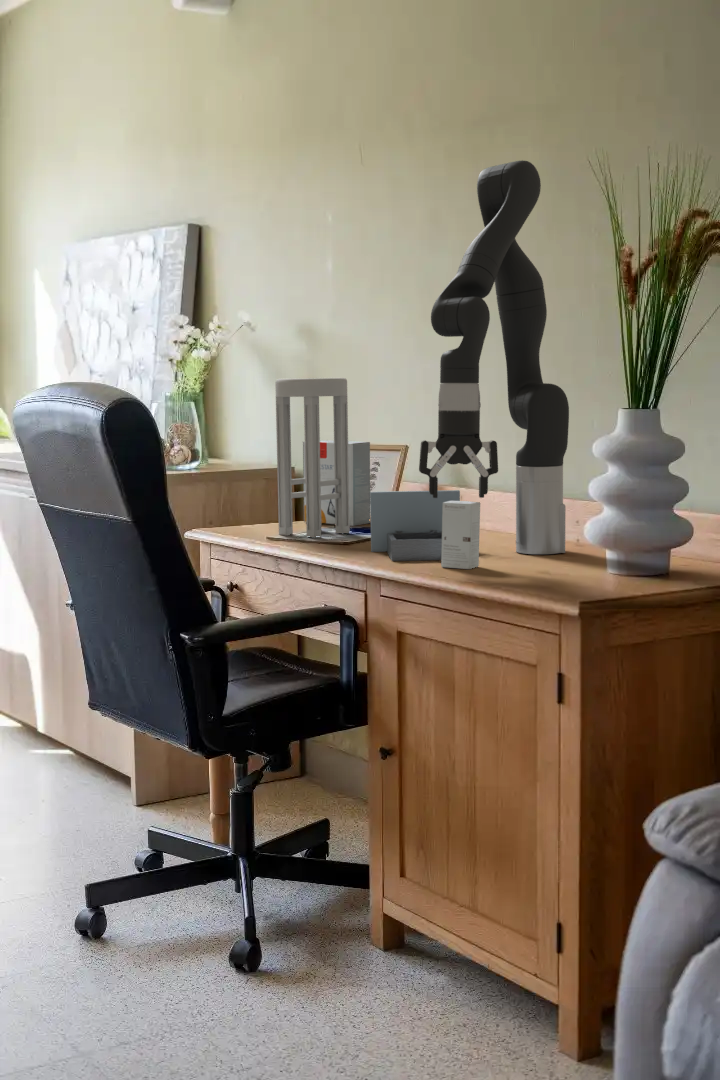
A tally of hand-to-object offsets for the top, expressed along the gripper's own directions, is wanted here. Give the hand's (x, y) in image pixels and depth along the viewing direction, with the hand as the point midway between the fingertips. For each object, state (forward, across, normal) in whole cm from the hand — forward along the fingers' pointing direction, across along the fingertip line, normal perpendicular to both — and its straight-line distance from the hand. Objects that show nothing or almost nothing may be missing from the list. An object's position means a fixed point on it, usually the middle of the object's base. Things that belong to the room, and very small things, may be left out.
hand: (458, 497), depth 238 cm
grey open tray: (+13, +6, -17) cm, 22 cm away
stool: (+13, +26, -57) cm, 64 cm away
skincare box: (+13, -1, 0) cm, 13 cm away
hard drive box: (+13, +20, -79) cm, 82 cm away
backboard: (+13, +6, -25) cm, 29 cm away
